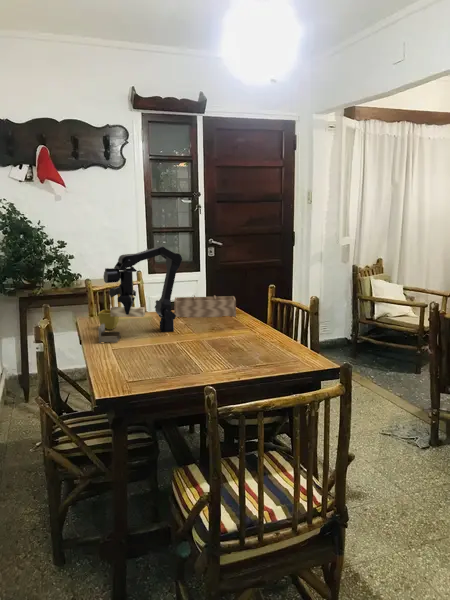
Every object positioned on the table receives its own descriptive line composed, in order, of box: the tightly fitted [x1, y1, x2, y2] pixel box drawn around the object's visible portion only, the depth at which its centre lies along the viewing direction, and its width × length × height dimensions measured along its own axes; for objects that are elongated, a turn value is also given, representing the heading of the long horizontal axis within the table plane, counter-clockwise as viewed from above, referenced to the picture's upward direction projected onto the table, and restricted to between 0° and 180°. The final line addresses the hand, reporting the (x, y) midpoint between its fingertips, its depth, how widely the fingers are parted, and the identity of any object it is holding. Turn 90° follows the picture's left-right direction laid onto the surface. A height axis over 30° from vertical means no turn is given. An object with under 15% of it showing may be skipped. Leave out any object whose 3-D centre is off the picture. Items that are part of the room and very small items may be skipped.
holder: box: [173, 294, 237, 318], centre depth 284 cm, size 35×13×10 cm, turn 94°
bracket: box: [97, 324, 121, 344], centre depth 229 cm, size 8×10×7 cm
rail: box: [109, 306, 146, 318], centre depth 235 cm, size 16×4×4 cm, turn 85°
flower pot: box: [97, 309, 120, 330], centre depth 252 cm, size 9×9×9 cm
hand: (127, 313), depth 236 cm, fingers closed on rail, 4 cm apart
